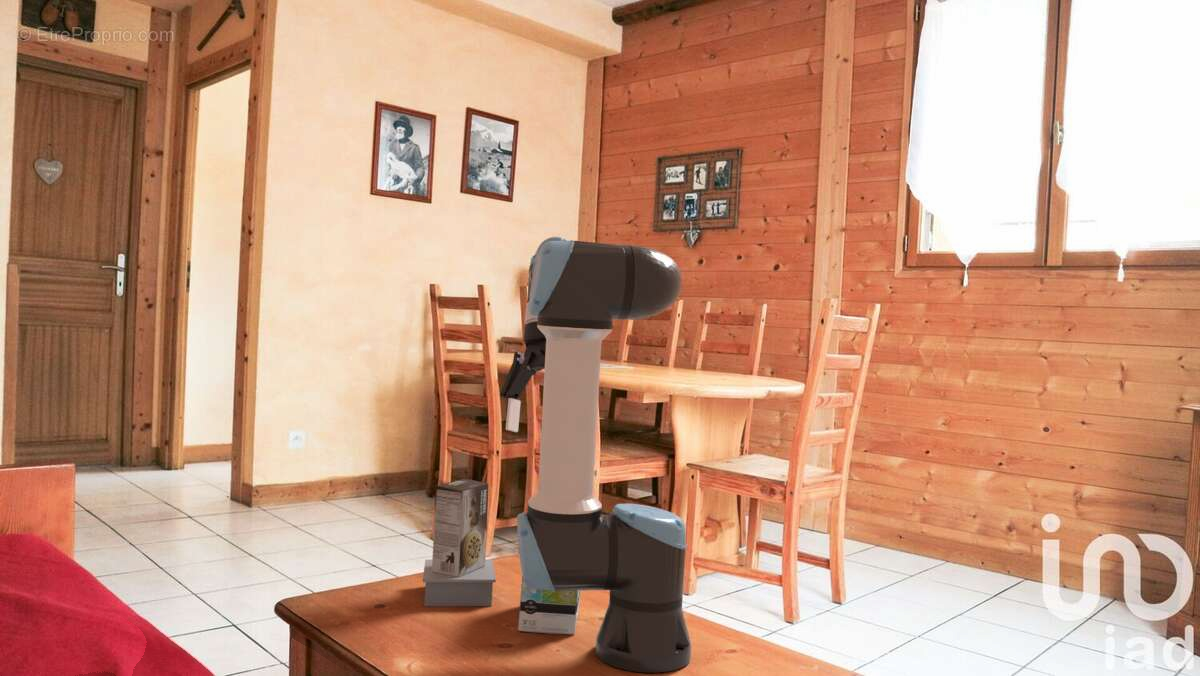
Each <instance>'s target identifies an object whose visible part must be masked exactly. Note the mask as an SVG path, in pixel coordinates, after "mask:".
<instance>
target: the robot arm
mask: <svg viewBox="0 0 1200 676" xmlns="http://www.w3.org/2000/svg"><path fill="white" fill-rule="evenodd" d="M528 267H529V268H528V281H527V282H528V283H527V299H526V306H525V315H524V324H525V325H524V328H523V337H522V340H523V342H524V345H525V351H524V352H518V351H515V352H514V354H513V360H512V364H511V366H510V369H509V371H508V373H507V376H506V378H505V381H504V383H503V386H502V388H501V391H500V393H499V396H500V397H501V398H503V399H506V405H505V406H506V408H505V414H506V419H505V420H506V422H505V430H506V431H510V432H514V433H518V432H519V424H520V412H521V400H520V398H521V395H522V393H523V392H524V390H525V389H526V387H527V385H528V384H529V382H530V380H531V378H532V377H533V376H534V375H536V374H537V372H540V371H543V370H544V371H543V373H544V377H543V393H542V394H543V395H542V412H541V431H540V435H541V436H540V447H539V449H540V451H539V467H538V486H537V487H538V488H537V491H536V493H535V494H534V495H533V496H531V497H530V498H529V499H528V501H527V511H522V512H521V513H519V514H518V515H517V516H516V520H517V525H516V527H517V528H516V529H517V530H516V531H517V542H518V543H517V544H518V553H519V561H520V568H521V577H522V576H523V580H524V583H525V584H526V586H528V587H529V588H531V589H534V590H551V591H552V592H555V591H569V590H580V591H609V601H608V605H607V608H606V611H605V613H604V617H603V619H602V621H601V624H600V626H599V627H600V628H599V630H598V633H597V635H596V639H595V654H596V657H597V658H599V660H601V662H604V663H605V664H606V665H607V664H608V665H610V666H611V667H614V668H617V669H620V670H625V671H629V672H637V673H645V674H646V673H650V674H651V673H666V672H672V671H677V670H679V669H682V668H683V667H685V666H687V665H688V664H689V663H690V662H691V656H692V655H691V654H692V643H691V638H690V634H689V630H688V627H687V623H686V619H685V614H684V611H683V599H684V598H683V596H684V595H683V594H684V583H685V582H684V580H685V577H684V576H685V564H686V563H685V560H686V558H685V557H686V550H687V541H686V540H687V539H686V538H687V536H686V534H687V533H686V532H687V531H686V525H685V522H684V520H683V519H682V518H681V517H680V516H678V515H677V514H675V513H673V512H671V511H668V510H665V509H661V508H658V507H655V506H650V505H644V504H638V503H637V504H636V503H630V502H629V503H628V502H627V503H617V504H615V505H614V508H613V509H612V514H611V513H610V514H603V513H602V512H603V511H602V510H603V506H602V503H601V501H600V500H599V499H598V498H597V497H596V496H595V494H594V481H595V464H596V463H595V462H596V447H597V446H596V445H597V429H598V428H597V426H598V411H599V409H598V407H599V394H600V393H599V392H600V375H601V374H600V373H601V372H600V371H601V355H602V352H601V351H602V342H603V340H604V339H605V338H606V337H607V336H608V335H609V334H611V333H612V331H613V320H624V321H625V320H631V321H632V320H642V319H647V318H651V317H654V316H657V315H659V314H661V313H662V312H665V311H666V310H667V309H668V308H670V307H671V306H673V304H674V303H675V302H676V300H677V299H678V298H679V296H680V294H681V290H682V285H683V281H682V277H683V276H682V274H681V273H682V272H681V270H680V268H679V266H678V265H677V263H676V262H675V260H673V258H671V257H670V256H669V255H668V254H665V253H664V252H661V251H658V250H657V249H654V248H650V247H646V246H641V245H635V244H626V245H625V244H615V243H605V242H595V241H594V242H593V241H584V240H583V241H579V240H572V239H570V240H566V239H565V238H563V237H560V236H551V237H548V238H545V239H544V240H543V241H542V242H541V243H540V244H539V245H538V247H537V248H536V251H535V253H534V255H532V257H531V259H530V264H529V266H528Z"/></svg>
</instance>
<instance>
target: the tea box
mask: <svg viewBox="0 0 1200 676" xmlns="http://www.w3.org/2000/svg"><path fill="white" fill-rule="evenodd" d="M580 596H581V590H569V591H555V592H552V591H551V590H534V589H531V588H529V587H528V586H526V584H525V583H524V580H523V576H522V575H521V590H520V600H519V601H520V604H519V614H518V615H519V616H518V627H517V629H518V631H519V632H525V633H526V632H527V633H528V632H529V633H538V634H540V633H542V634H553V635H556V634H557V635H575V633H576V628H577V623H578V622H577V621H578V616H579V615H578V614H579V609H580V608H579V607H580Z"/></svg>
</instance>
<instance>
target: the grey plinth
mask: <svg viewBox="0 0 1200 676" xmlns="http://www.w3.org/2000/svg"><path fill="white" fill-rule="evenodd" d="M495 572H496V571H495V566H494V560H493V559H485V566H483V567H481V568H478V569H476V570H474V571H472V572H469V573H467V574H465V575H463V576H461V577H455V576H450V575H445V574H441V573H436V572H432V559H425V560H424V568H423V576H422V583H425V587H424V588H425V589H424V607H492V606H493V605H492V604H493V603H492V602H493V585H494V584H493V583H496V581H497V579H496V573H495Z"/></svg>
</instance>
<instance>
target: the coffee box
mask: <svg viewBox="0 0 1200 676" xmlns="http://www.w3.org/2000/svg"><path fill="white" fill-rule="evenodd" d="M489 484H490V483H489V482H481V481H478V480H474V479H467V478H466V479H465V478H461V479H457V480H453V481H449V482H446V483H443V484H442V483H441V484H439V485H436V486H435V493H434V494H435V498H434V517H433V518H434V521H433V536H432V537H433V539H432V541H433V542H432V559H431V560H432V572H436V573H441V574H445V575H450V576H455V577H461V576H463V575H465V574H467V573H469V572H472V571H474V570H476V569H478V568H481V567H483V566H485V560H487V558H486V556H487V555H486V554H487V553H486V552H487V531H488V510H489V509H488V508H489V506H488V505H489Z"/></svg>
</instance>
